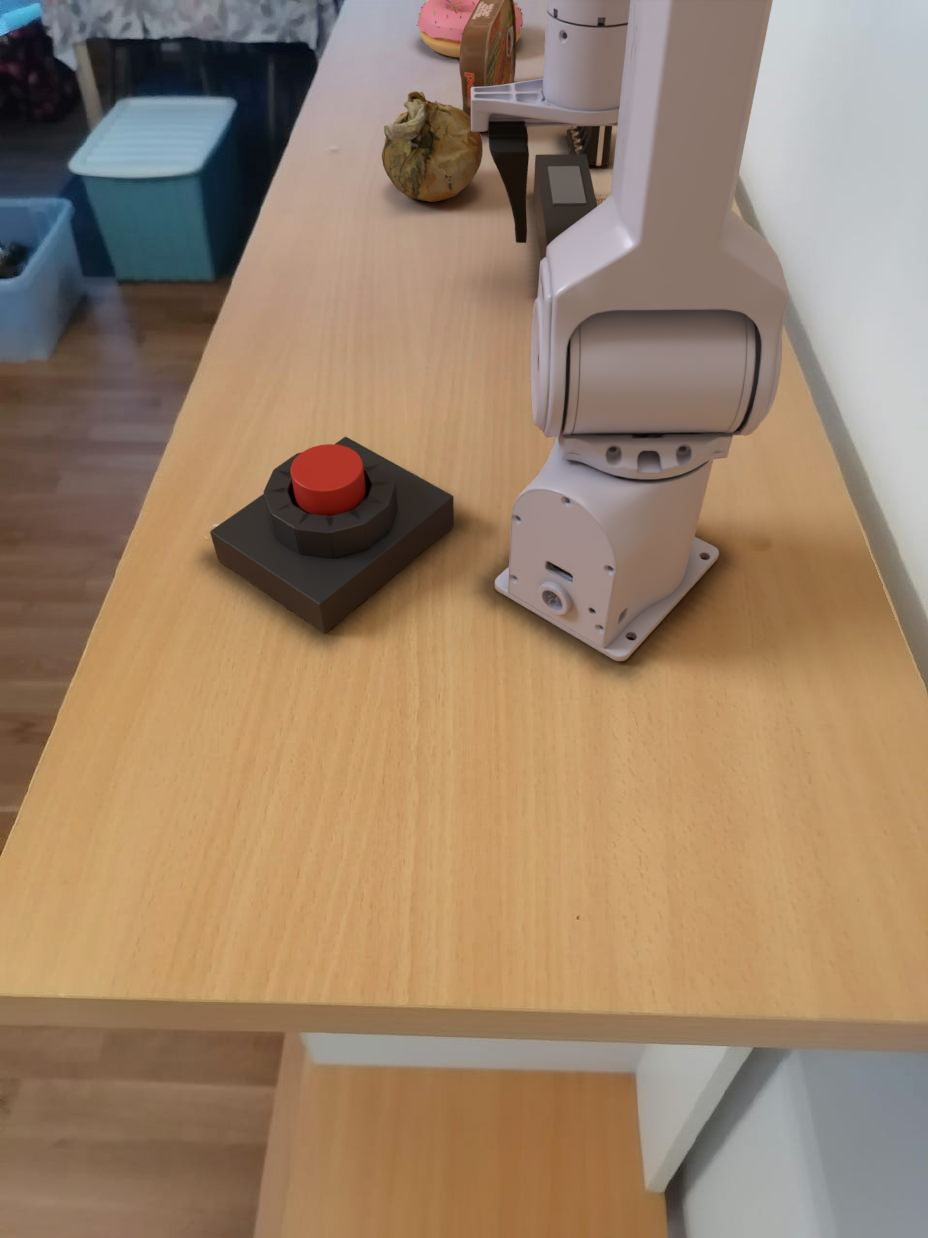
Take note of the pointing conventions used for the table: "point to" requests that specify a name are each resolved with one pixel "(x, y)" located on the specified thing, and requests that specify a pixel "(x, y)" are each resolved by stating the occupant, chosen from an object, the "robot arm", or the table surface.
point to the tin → (488, 48)
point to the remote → (560, 194)
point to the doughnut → (450, 24)
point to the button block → (333, 539)
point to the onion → (431, 150)
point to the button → (328, 479)
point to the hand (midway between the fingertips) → (576, 235)
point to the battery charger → (590, 143)
